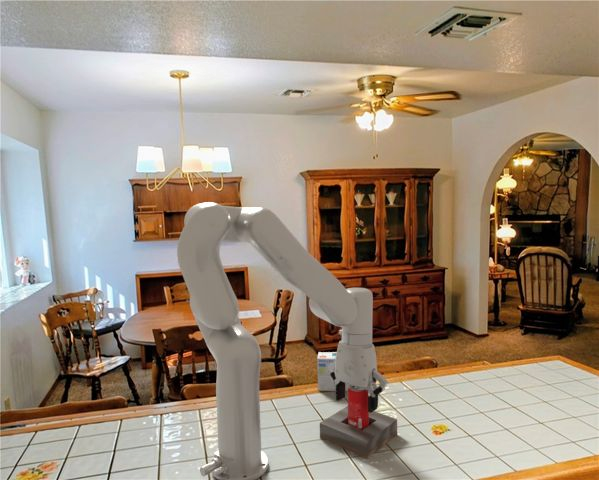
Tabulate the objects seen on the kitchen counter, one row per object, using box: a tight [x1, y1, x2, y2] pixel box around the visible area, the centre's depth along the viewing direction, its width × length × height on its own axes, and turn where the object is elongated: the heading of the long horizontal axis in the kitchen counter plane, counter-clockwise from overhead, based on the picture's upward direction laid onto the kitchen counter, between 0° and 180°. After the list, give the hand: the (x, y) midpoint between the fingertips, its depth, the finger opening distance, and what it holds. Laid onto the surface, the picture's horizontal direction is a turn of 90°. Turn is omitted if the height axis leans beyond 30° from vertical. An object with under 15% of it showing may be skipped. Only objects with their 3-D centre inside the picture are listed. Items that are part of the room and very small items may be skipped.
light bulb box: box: [316, 351, 350, 392], centre depth 139 cm, size 11×7×11 cm, turn 84°
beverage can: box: [347, 385, 370, 430], centre depth 108 cm, size 5×5×12 cm
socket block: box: [319, 405, 398, 459], centre depth 109 cm, size 14×14×4 cm
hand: (356, 404), depth 108 cm, fingers open, 9 cm apart
